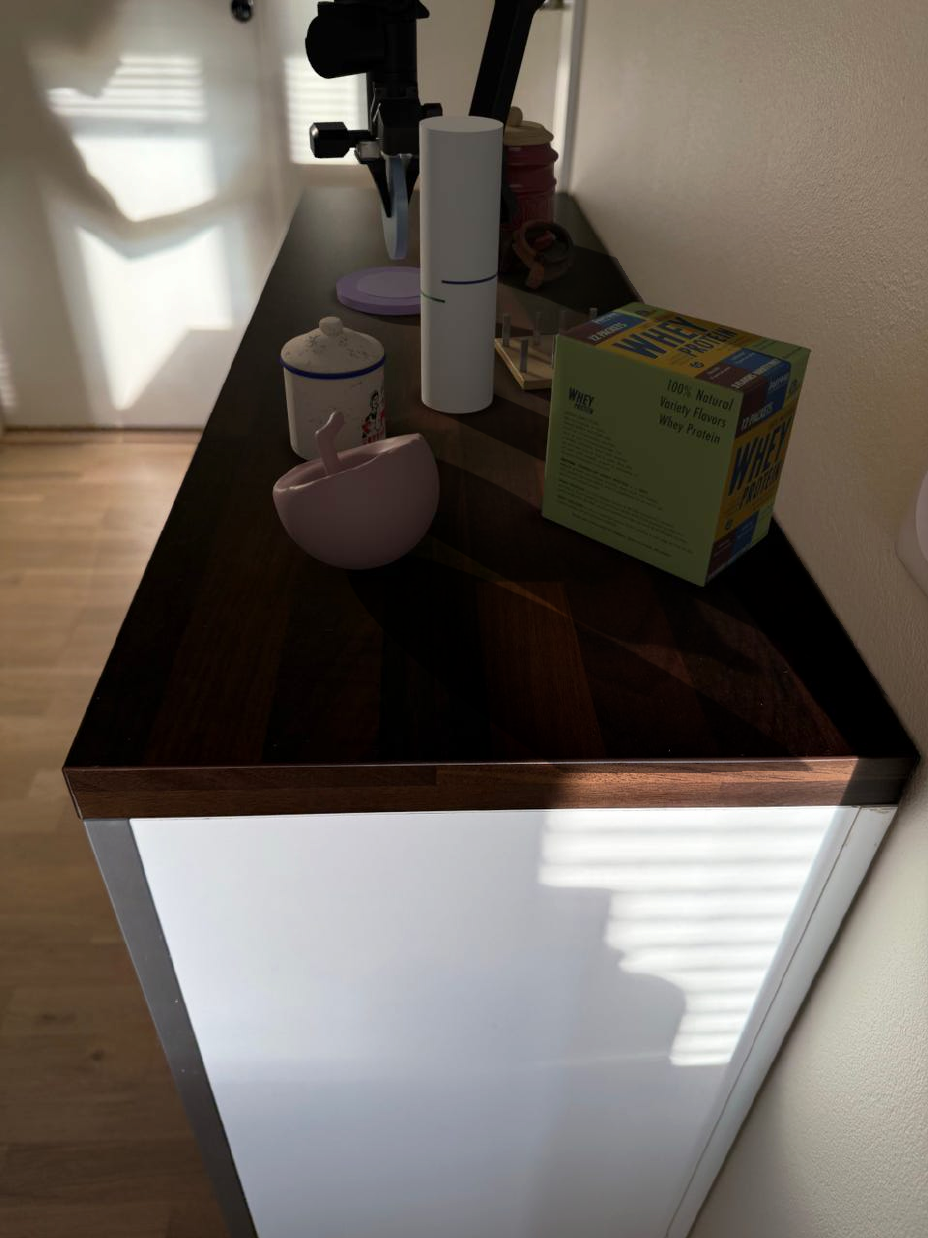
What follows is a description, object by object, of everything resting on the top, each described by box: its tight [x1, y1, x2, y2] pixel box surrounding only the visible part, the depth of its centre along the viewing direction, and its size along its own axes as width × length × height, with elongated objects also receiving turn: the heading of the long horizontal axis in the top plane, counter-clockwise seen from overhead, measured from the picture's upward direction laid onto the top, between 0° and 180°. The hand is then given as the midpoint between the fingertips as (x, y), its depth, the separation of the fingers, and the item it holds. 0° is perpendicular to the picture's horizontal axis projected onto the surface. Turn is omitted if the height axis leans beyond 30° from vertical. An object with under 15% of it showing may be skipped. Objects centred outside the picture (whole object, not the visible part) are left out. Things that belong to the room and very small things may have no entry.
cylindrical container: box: [419, 115, 503, 414], centre depth 91 cm, size 7×7×25 cm
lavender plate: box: [335, 265, 421, 316], centre depth 123 cm, size 15×15×1 cm
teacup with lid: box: [279, 316, 387, 462], centre depth 87 cm, size 12×9×12 cm
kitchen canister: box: [500, 105, 560, 251], centre depth 137 cm, size 13×13×18 cm
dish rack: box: [495, 307, 598, 391], centre depth 105 cm, size 12×11×4 cm
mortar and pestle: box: [272, 411, 441, 571], centre depth 72 cm, size 12×12×12 cm
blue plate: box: [380, 152, 410, 261], centre depth 118 cm, size 12×1×12 cm
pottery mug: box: [497, 219, 574, 290], centre depth 127 cm, size 12×10×8 cm
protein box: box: [540, 301, 812, 588], centre depth 75 cm, size 10×15×16 cm
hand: (395, 216), depth 118 cm, fingers closed on blue plate, 1 cm apart
